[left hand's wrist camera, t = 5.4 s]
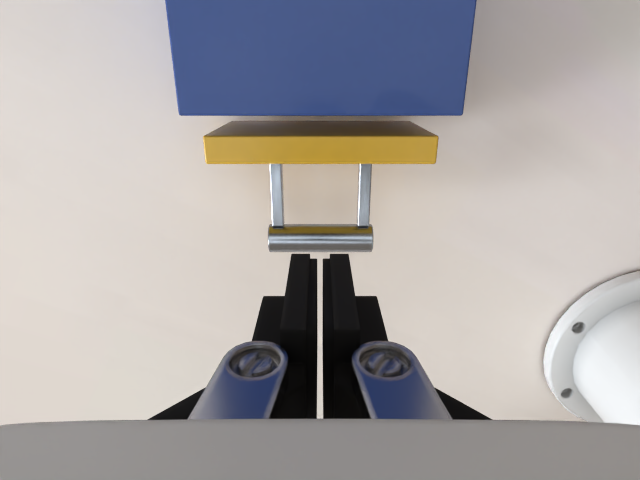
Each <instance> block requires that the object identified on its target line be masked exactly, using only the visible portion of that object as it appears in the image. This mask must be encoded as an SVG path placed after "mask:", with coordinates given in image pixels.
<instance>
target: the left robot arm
mask: <svg viewBox="0 0 640 480" xmlns="http://www.w3.org/2000/svg"><path fill="white" fill-rule="evenodd" d="M543 365H544V375H545V378H546V381H547V383H548V386H549V388H550V389H551V391H552V392H553V394H554V395H555V397H556V398H557V400H558V401H559V402H560V403H561V404H562V405H563V406H564V408H565V409H566V410H568V411H569V412H571V413H572V414H573V415H575V416H576V417H578V418H581V419H583V420H585V421H588V422H576V421H540V420H492V419H490V418H488V417H487V416H485V415H483V414H481V413H479V412H478V411H476V410H474V409H472V408H470V407H469V406H467V405H465V404H463V403H461V402H460V401H458V400H456V399H454V398H452V397H450V396H449V395H447V394H445V393H443V392H441V391H440V390H438V389H436V388H434V387H433V385H432V383H431V381H430V380H429V378H428V376H427V375H426V373H425V371H424V369H423V368H422V366H421V364H420V362H419V361H418V359H417V357H416V356H415V355H414V354H413V352H412V351H410V350H409V349H408V348H406V347H405V346H402V345H400V344H397V343H394V342H389V341H388V339H387V335H386V331H385V327H384V323H383V319H382V315H381V311H380V307H379V303H378V300H377V297H376V296H355V292H354V286H353V280H352V273H351V267H350V261H349V255H348V254H330V259H323V419H317V259H310V254H292V255H291V261H290V267H289V273H288V280H287V286H286V292H285V296H264V297H263V300H262V303H261V307H260V311H259V315H258V319H257V323H256V327H255V331H254V335H253V339H252V341H251V342H246V343H243V344H240V345H238V346H235V347H234V348H232V349H231V350H230V351H228V352H227V354H226V355H225V356H224V357H223V359H222V361H221V362H220V364H219V366H218V368H217V369H216V371H215V373H214V375H213V376H212V378H211V380H210V381H209V383H208V385H207V387H206V388H204V389H202V390H200V391H199V392H197V393H195V394H193V395H191V396H189V397H188V398H186V399H184V400H182V401H180V402H179V403H177V404H175V405H173V406H171V407H170V408H168V409H166V410H164V411H162V412H161V413H159V414H157V415H155V416H153V417H152V418H150V419H148V420H106V421H64V422H36V423H18V424H8V425H0V480H640V271H636V272H632V273H629V274H625V275H621V276H618V277H616V278H614V279H612V280H609V281H607V282H605V283H602V284H601V285H599V286H597V287H596V288H594V289H592V290H591V291H589V292H588V293H586V294H585V295H583V296H582V297H581V298H580V299H579V300H577V301H576V302H575V303H574V304H573V305H572V306H570V308H569V309H568V310H567V311H566V312H565V313H564V315H563V316H562V317H561V318H560V319H559V321H558V322H557V324H556V326H555V327H554V329H553V330H552V332H551V334H550V336H549V339H548V342H547V344H546V347H545V353H544V360H543Z"/></svg>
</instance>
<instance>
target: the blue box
mask: <svg viewBox="0 0 640 480" xmlns="http://www.w3.org/2000/svg"><path fill="white" fill-rule="evenodd" d="M165 2H166V11H167V19H168V27H169V36H170V44H171V52H172V61H173V69H174V78H175V86H176V94H177V103H178V111H179V115H181V116H461V115H462V114H463V108H464V100H465V91H466V83H467V75H468V67H469V58H470V50H471V42H472V34H473V25H474V17H475V9H476V0H165Z"/></svg>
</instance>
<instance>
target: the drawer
mask: <svg viewBox="0 0 640 480" xmlns="http://www.w3.org/2000/svg"><path fill="white" fill-rule="evenodd" d="M203 142H204V151H205V161H206V163H207V164H270V186H271V209H272V224H270V225H269V229H268V247H269V251H270V252H372V249H373V227H372V225H371V224H369V215H370V193H371V171H372V164H435V163H436V156H437V147H438V136H437V135H435V134H433V133H431V132H429V131H427V130H425V129H423V128H421V127H420V126H418V125H416V124H414V123H412V122H410V121H231V122H229V123H227V124H226V125H224V126H222V127H220V128H218V129H216V130H214V131H212V132H211V133H209V134H207V135H205V136H203ZM282 164H359V177H358V206H357V224H284V198H283V168H282Z"/></svg>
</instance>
